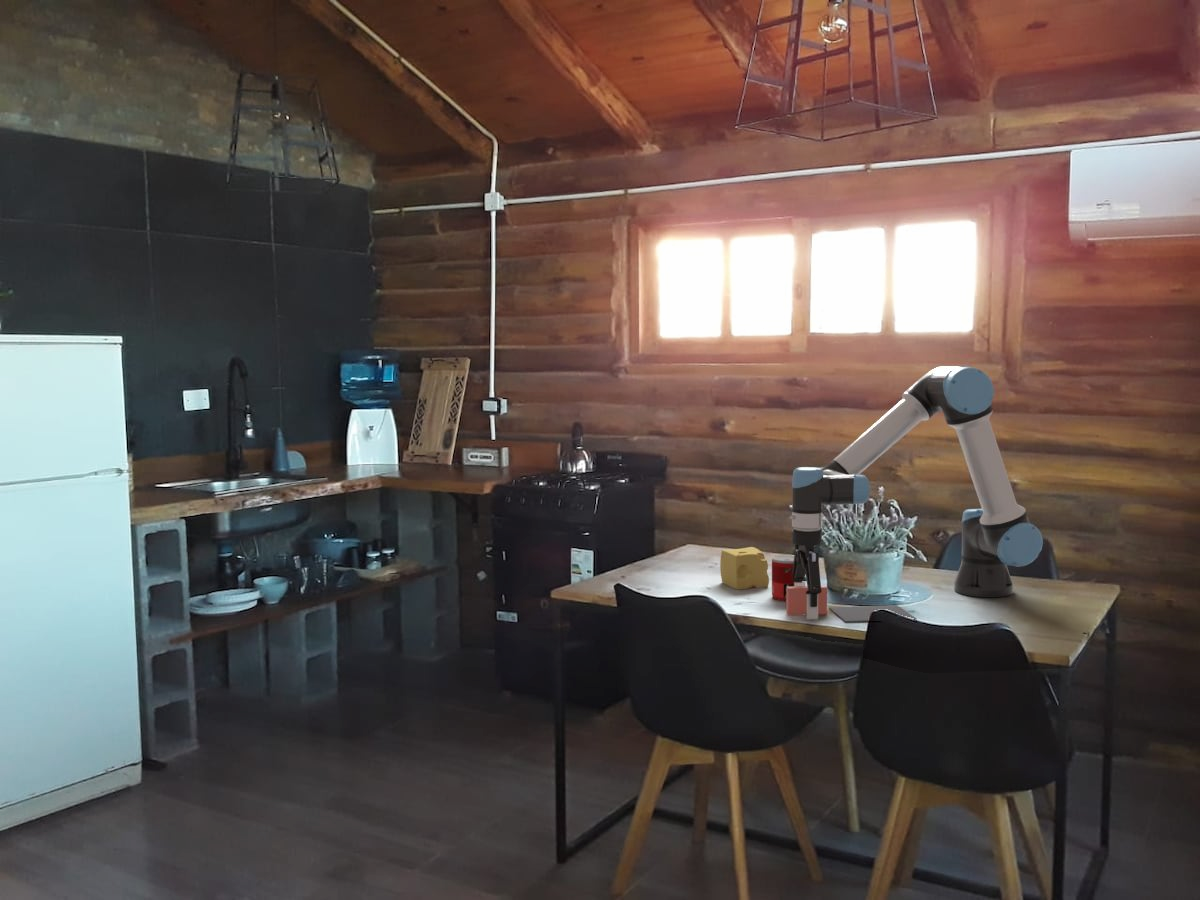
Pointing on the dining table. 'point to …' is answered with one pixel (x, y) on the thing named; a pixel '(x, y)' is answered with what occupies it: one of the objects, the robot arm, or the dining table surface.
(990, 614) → the dining table surface
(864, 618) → the mat
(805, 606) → the block
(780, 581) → the canned food
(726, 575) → the cheese
